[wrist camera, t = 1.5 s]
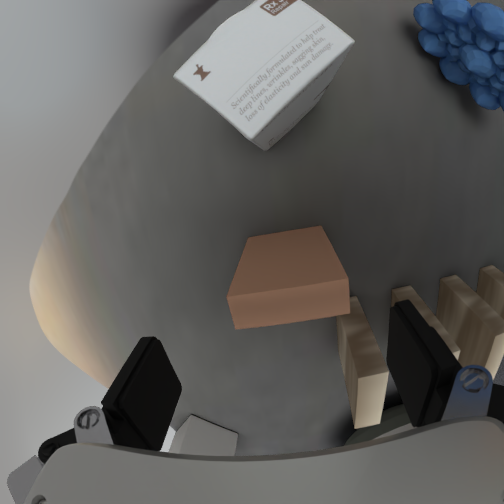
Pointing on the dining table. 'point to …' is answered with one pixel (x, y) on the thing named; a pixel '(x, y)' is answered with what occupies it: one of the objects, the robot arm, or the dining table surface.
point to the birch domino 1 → (361, 366)
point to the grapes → (466, 45)
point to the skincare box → (267, 67)
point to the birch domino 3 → (471, 324)
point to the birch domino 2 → (424, 314)
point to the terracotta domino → (288, 280)
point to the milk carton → (203, 439)
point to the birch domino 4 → (492, 288)
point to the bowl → (384, 426)
